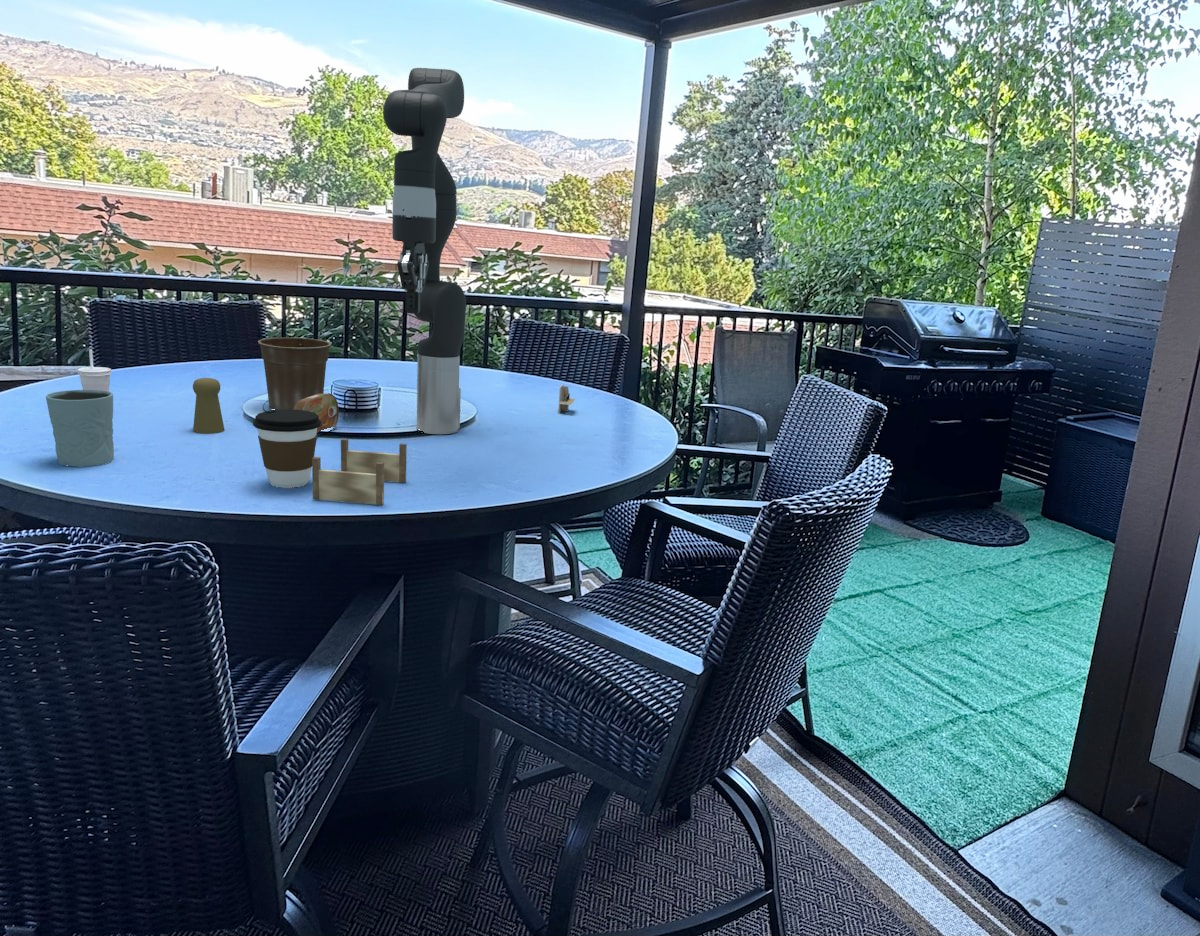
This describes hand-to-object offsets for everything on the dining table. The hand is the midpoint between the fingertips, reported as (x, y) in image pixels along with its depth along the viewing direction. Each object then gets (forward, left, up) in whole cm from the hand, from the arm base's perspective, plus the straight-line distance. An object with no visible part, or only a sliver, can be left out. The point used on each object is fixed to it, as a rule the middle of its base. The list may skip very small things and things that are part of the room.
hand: (413, 313), depth 154 cm
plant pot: (-24, -52, -29) cm, 64 cm away
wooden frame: (+18, +3, -29) cm, 34 cm away
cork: (+4, -49, -29) cm, 57 cm away
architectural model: (-68, -2, -30) cm, 74 cm away
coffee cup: (+22, -9, -29) cm, 38 cm away
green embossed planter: (+33, -46, -29) cm, 64 cm away
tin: (-8, -31, -29) cm, 43 cm away
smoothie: (+8, -78, -29) cm, 84 cm away
